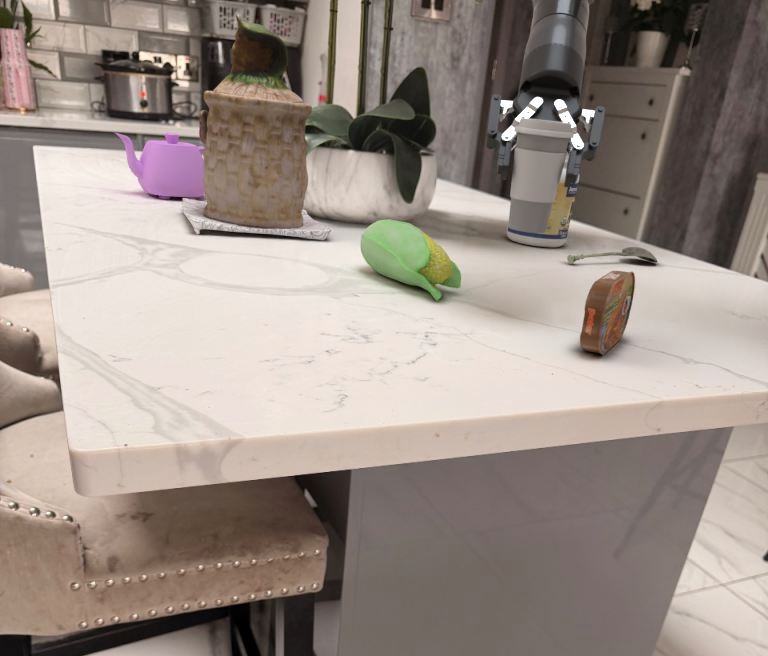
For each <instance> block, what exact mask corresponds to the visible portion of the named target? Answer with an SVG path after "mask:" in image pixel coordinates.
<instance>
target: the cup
mask: <svg viewBox="0 0 768 656" xmlns="http://www.w3.org/2000/svg"><path fill="white" fill-rule="evenodd" d="M571 126H572V124H571V123H565V122H557V121H549V120H540V119H530V118H521V119H520V122H519V126H516V127H515V129H514V131H515V132H516V134H517V144H516V147H515V148H514V153H513V163H512V164H513V165H512V175H511V183H510V184H511V185H510V193H509V194H510V196H509V197H510V205H509V215H508V221H509V224H508V223H507V227H509V228H510V229H513V230H517V231H522V232H530V233H544V232H545V231H546V227H547V224H548V220H549V216H550V212H551V208H552V204H553V202H554V201H555V197H556V193H557V190H558V186H559V182H560V178H561V174H562V170H563V166H564V163H565V159H566V155H567V153H566V150H567V146H568V142H569V140H571V138H574V133H573V132H571Z"/></svg>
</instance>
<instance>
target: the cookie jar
mask: <svg viewBox="0 0 768 656" xmlns="http://www.w3.org/2000/svg"><path fill="white" fill-rule="evenodd" d="M235 19H236V22H237V30H236V32H235V35H234V38H235V41H234V43H233V45H232V46H231V50H232V55H231V57H232V62H233V64H232V65H231V66H232V67H231V70H230V72H229V74H228V75H227V76H226V77H225V78H224V79H223V80H222V81H220V83H219V84H217V86H216V87H215V88H214V89H213V90H205V91H204V92H203V100H204V102H205V104H206V105H207V107H208V110H207V109H203V110H200V113H199V117H198V119H199V120H198V123H199V124H198V125H199V129H198V137H199V141H200V142H201V143H202V144H203V145H204V146H203V147H204V151H203V155H202V158H203V160H204V165H203V189H204V193H205V195H204V196H205V198H206V201H204V200H203V201H201V200H198V199H196V200H193V199H187V198H185V197H182V202H181V208H182V211H183V212H182V213H183V215H184V216H185V217H186V218H187V220H188V222H189V223H190V224H191V226H192V228H193V230H194V232H195V234H196V235H199V234H200V233H201V232H200V231H201V230H211V231H212V230H213V231H221V232H222V231H223V232H233V233H247V234H248V233H249V234H264V235H265V234H266V235H276V236H286V237H297V238H301V239H307V240H320V241H325V240H326V239H327V237H328V236H329V235H330V233H331V228H330V227H327V226H326V225H323V224H322V223H321V222H320V221H317V220H315V219H313V218H312V217H311V216H310V215H309V214H308V212H307V210H305V209H304V206H305V205H304V204H305V203H304V202H305V200H306V199H305V198H306V193H307V189H308V186H309V173H308V168H307V155H308V154H307V153H308V146H307V140H306V125H307V120H308V118H309V117H310V116H311V114H312V112H313V106H312V105H311V104H310V103H307V102H306V103H305V102H304V100H303V99H302V97H300V95H298V94H296V93H295V92H293V91H292V90H291V89H290V88H289V86H288V85H287V84H286V82H285V81H284V80H283V76H284V75H285V72H286V71H287V67H288V64H289V52H288V47H287V45H286V43H285V42H284V41H283V40H282V39H281V38H280V36H279V35H278V34H276V33H275V32H273V31H271V30H270V29H269V28H268V27H266V26H264V25H263V24H260V23H255V22H254V23H253V22H246V21H244V20H243V19H242V17H241V15H240V14H236V15H235Z"/></svg>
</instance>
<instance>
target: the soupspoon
mask: <svg viewBox="0 0 768 656" xmlns="http://www.w3.org/2000/svg"><path fill="white" fill-rule="evenodd" d="M609 256H610V257H611V256H620V257H636V258H639V259H641V260H644V261H646V262H650V263H656V264H657V263H658V262H659V261H658V259H657V257H656V256H655V255H654V254H653V253H651V251H649V250H647V249H645V248H642V247H638V246H630V247H629V246H628V247H625V248H623V249H621V251H618V252H617V251H616V252H615V251H611V252H597V253H589V254H584V253H581V254H577V255H573V254H568V255H567V257H566V258H567V259H566V260H567V262H568V264H569V265H573V264H574V263H575V262H576V261H580V260H584V259H587V258H596V257H609Z"/></svg>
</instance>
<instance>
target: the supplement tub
mask: <svg viewBox="0 0 768 656" xmlns="http://www.w3.org/2000/svg"><path fill="white" fill-rule="evenodd" d="M567 162H568V156H567V155H566V159H565V163H564V166H563V170H562V174H561V178H560V182H559V186H558V190H557V193H556V197H555V201H554V202H553V204H552V208H551V212H550V216H549V220H548V224H547V227H546V231H545V232H544V233H530V232H522V231H517V230H513V229H510V228H509V227H508V226H507V227H506V236H507V238H508V240H509V241H512V242H515V243H518V244H521V245H526V246H532V247H539V248H559V247H562V246H563V245H564V244H565V243H566V242H567V239H568V235H569V229H570V225H571V219H572V216H573V215H572V214H573V210H574V205H575V200H576V196H577V191H578V186H579V181H580V174H579V175H578V179H577V181H576V183H571V186H570V188H568V187H564V183H565V176H566V169H567ZM508 224H509V220H508V221H507V225H508Z"/></svg>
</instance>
